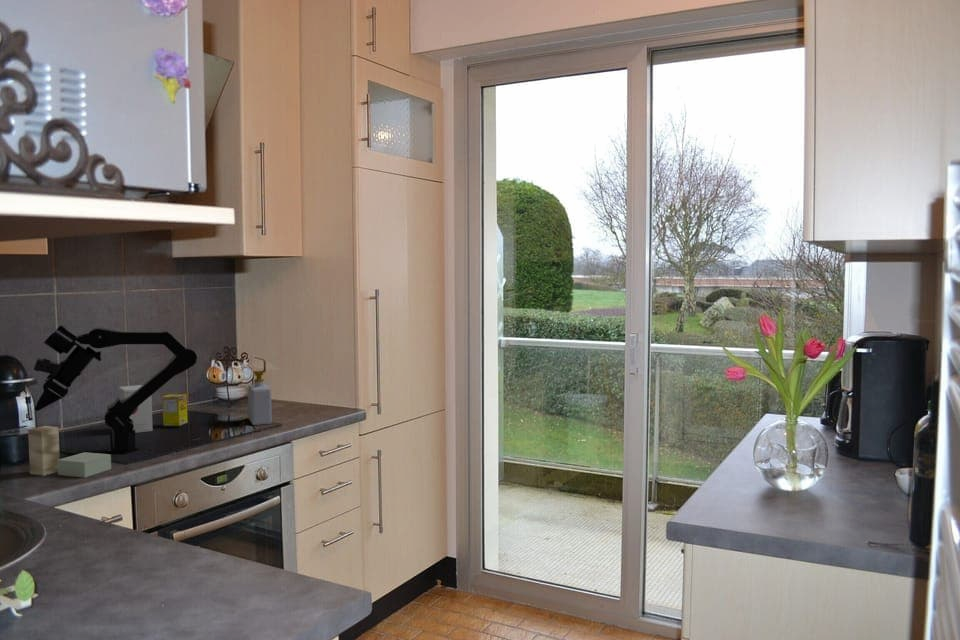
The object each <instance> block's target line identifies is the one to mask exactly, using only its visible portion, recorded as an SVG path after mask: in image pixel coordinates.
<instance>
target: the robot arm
mask: <svg viewBox="0 0 960 640" xmlns="http://www.w3.org/2000/svg"><path fill="white" fill-rule="evenodd" d="M43 344H44V345H46V346H48V347H49V348H51V349H52V350H53V351H54V352H56V353H57V354H59V355H62V354H68V353H69V352H70V351H71V352H70V353H69V354H68V355H67V356H66V358H65V359H64V360H61V361H60V363H59V362H58V363H57V362H55V361H51V359H47V358H46V357H45V358H37V359H36V361H35V364H34V367H33V368H32V369H33V370H34V371H36V372H42V373H47V374H48V375H47V376H46V378H45V382H44V383H43V385H42V389H43V392H42V393H41V395H40V396H39V398H38V400H37V402H36V405H35V407H34V411H36V412H39V411H40V410H43V409H44V408H47V407H48V406H50V405H52V404H54V403H56V402H58V401H59V400H61V399H63V398H65V396H67V394H68V393H69V388H70V387H71V386H72V384H73V383H74V381H75V380H77V378H78V377H80V376H81V375H82V372H83V371H84V370H85V369H86V368H87V367H88V366H89V365H90V363H91V362H92V361H93V360H94V359H95V360H97V361H99V362H101V361H102V356H101V354H102V351H100V350H99V351H96V350H94V349H102V348H109V347H114V346H120V345H163V346H165V347H166V348H167V349H168V350H169V351H170V352H171V353H172V354H173V355H172V357H171V358H170V360H169V361H168V362H167V364H165V366H164V367H163V368H162V369H160V370H159V371H158V372H157V373H156V374H154V375H153V376H152V377H151V378H149V379H148V380H147V381H145V382H144V384H141V385H142V386H141V387H140V388H139V389H137V390H136V391H135V392H134V393H133V394H131V395H130V396H129V397H127V398H126V399H124V400H120V398H119V396H118V397H117V398H116V399H115V400H114V401H113V402H112V403H111V404H108V405H107V408H106V410H105V411H104V418H103V419H104V423H105V425H106V426H107V427H109V428H111V429H112V430H110V436H109V441H110V449H107V452H108V453H114V454H115V453H117V454H128V453H130V452H133V451H136V450H140V449H141V448H140V446H137V445H136V442H137V441H136V433H135V430H133V427H134V424H133V420H131V419H130V418H129V417H130V416H131V415H132V413H133V412H134V411H135V409H136V408H137V407H138V406H139V405H140V404H141V403H143V402H144V401H145V400H146V399H147V398H149V397H150V396H151V395H154V394H155V392H157V391H158V390H159V389H160V388H162V387H163V386H164V385H166V383H168V382H169V381H170V380H172V379H173V377H175V376H177V375H180V374H181V373H183V372H185V371H187V370H188V369H190V368H191V367H193V366H195V365H196V363H197V361H198V355H197V354H196V352H195V351H194V350H192V348H190V347H185V346H183V345H182V344H181V342H179V341H178V340H177V339H176V338H175V337H174V336H173V334H172V333H171V332H169V331H168V330H167V331H166V330H164V331H163V330H162V331H120V330H115V329H110V328H109V329H108V328H103V327H95V328H92V329H90V331H88V333H83V334H79V335H75V334H74V333H72V332H71V331H70V330H69V329H67V328H66V327H65V326H63V325H62V324H60V325H59V326H58V327H57V328H56V329H55V331H54V332H52V333H51V334H50V335H49V336H48V337H47V338H46V339H45V340H44V342H43ZM82 345H88V346H86V347H84V346H82ZM75 346H76V347H75ZM74 347H75V348H74ZM73 348H74V349H73ZM93 348H94V349H93ZM72 349H73V350H72Z"/></svg>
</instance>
